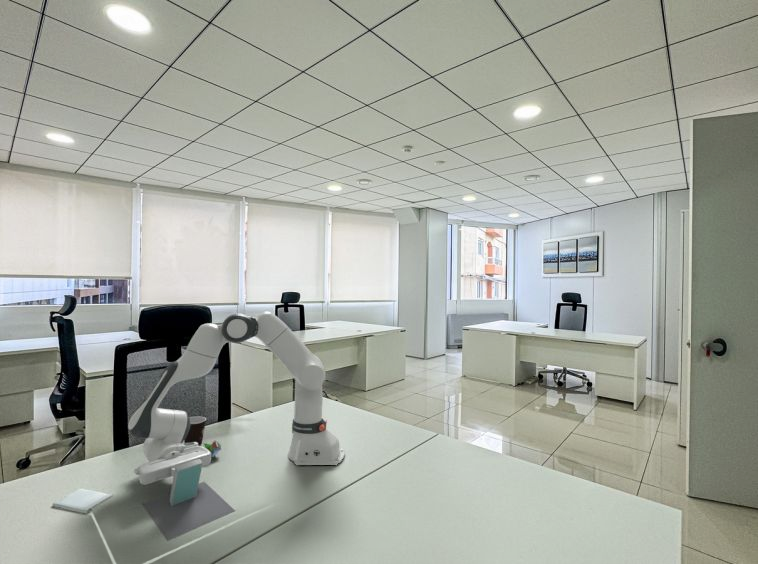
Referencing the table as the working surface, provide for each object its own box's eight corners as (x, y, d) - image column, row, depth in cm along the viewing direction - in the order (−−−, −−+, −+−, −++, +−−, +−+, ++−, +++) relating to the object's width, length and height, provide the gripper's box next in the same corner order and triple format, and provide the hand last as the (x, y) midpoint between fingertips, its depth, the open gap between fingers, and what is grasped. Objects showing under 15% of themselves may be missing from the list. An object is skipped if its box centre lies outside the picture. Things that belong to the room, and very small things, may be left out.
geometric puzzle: (206, 461, 130) (217, 439, 135) (191, 458, 133) (202, 435, 137) (217, 466, 136) (227, 444, 140) (203, 463, 138) (213, 441, 143)
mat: (141, 505, 107) (142, 503, 107) (204, 483, 120) (204, 481, 120) (167, 543, 92) (167, 540, 92) (235, 512, 105) (235, 510, 105)
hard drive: (52, 502, 105) (86, 509, 102) (81, 487, 113) (113, 493, 110) (52, 508, 105) (86, 515, 102) (80, 493, 113) (113, 499, 110)
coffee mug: (195, 450, 144) (196, 425, 144) (176, 447, 145) (177, 422, 146) (214, 438, 155) (215, 415, 155) (196, 436, 157) (197, 413, 157)
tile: (169, 501, 108) (175, 466, 106) (193, 492, 113) (200, 458, 111) (171, 506, 106) (177, 471, 104) (196, 496, 111) (202, 463, 109)
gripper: (132, 459, 111) (146, 476, 102) (201, 440, 126) (218, 453, 117) (131, 479, 111) (145, 498, 102) (200, 458, 126) (217, 473, 117)
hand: (185, 474), depth 109 cm, fingers closed
